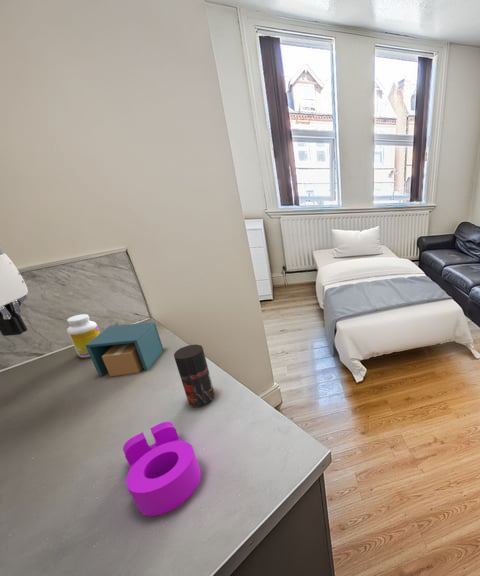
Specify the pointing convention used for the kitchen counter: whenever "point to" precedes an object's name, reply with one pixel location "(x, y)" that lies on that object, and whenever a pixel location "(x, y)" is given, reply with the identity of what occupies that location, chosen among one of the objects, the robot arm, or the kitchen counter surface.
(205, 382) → the deodorant
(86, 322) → the supplement bottle
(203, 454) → the kitchen counter surface
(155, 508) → the magenta ring bracket
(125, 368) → the box
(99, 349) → the shelf
